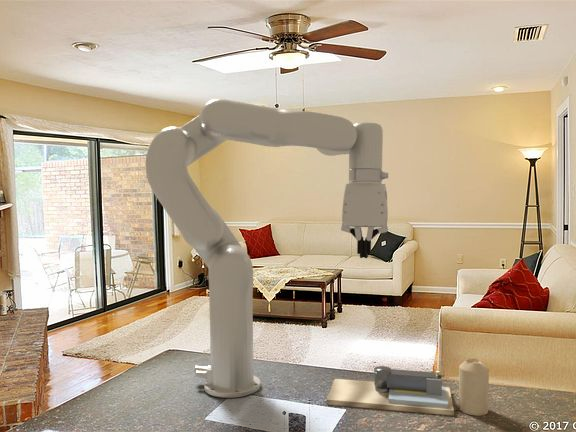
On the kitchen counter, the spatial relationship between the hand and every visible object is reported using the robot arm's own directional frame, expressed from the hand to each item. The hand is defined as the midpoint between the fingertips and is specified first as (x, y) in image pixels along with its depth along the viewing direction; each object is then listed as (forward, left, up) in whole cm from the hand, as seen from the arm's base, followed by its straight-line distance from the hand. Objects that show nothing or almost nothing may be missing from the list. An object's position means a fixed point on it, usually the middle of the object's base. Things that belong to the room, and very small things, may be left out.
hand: (364, 257), depth 118 cm
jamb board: (+6, -10, -28) cm, 31 cm away
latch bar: (+10, -9, -26) cm, 29 cm away
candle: (+23, -13, -29) cm, 39 cm away
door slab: (+12, -11, -27) cm, 32 cm away
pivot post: (+5, -9, -28) cm, 30 cm away
